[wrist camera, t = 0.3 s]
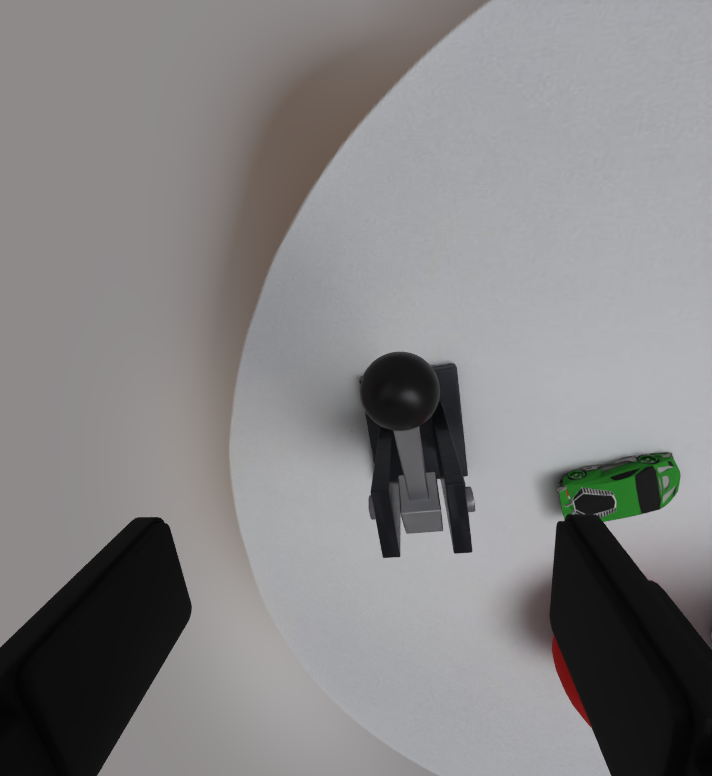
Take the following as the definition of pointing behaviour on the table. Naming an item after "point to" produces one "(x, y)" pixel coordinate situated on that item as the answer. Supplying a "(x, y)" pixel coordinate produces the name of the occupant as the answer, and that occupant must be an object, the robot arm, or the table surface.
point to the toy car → (621, 487)
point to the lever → (406, 429)
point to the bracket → (440, 456)
